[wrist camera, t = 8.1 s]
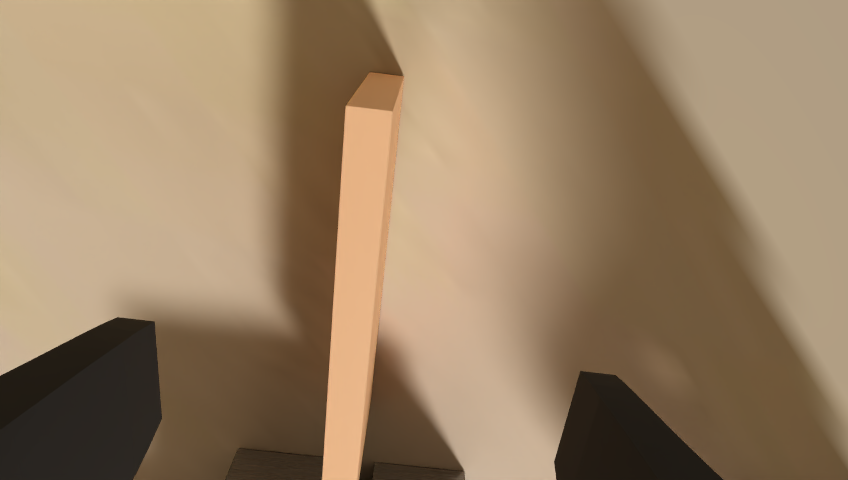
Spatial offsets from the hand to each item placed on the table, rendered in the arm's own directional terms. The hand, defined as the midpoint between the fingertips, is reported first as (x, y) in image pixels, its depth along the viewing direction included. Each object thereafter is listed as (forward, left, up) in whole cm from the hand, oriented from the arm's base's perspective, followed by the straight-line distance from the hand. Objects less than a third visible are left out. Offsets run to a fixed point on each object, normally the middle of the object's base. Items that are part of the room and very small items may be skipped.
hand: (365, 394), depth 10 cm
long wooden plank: (+1, +2, -9) cm, 10 cm away
